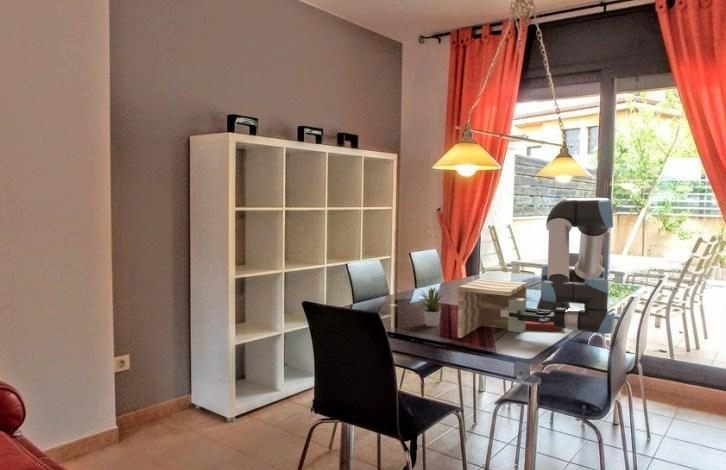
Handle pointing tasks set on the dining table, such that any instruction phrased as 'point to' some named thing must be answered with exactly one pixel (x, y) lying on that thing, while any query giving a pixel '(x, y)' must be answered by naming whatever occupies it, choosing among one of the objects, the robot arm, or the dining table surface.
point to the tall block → (514, 323)
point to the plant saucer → (541, 326)
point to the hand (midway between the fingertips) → (503, 311)
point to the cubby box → (486, 303)
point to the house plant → (431, 308)
